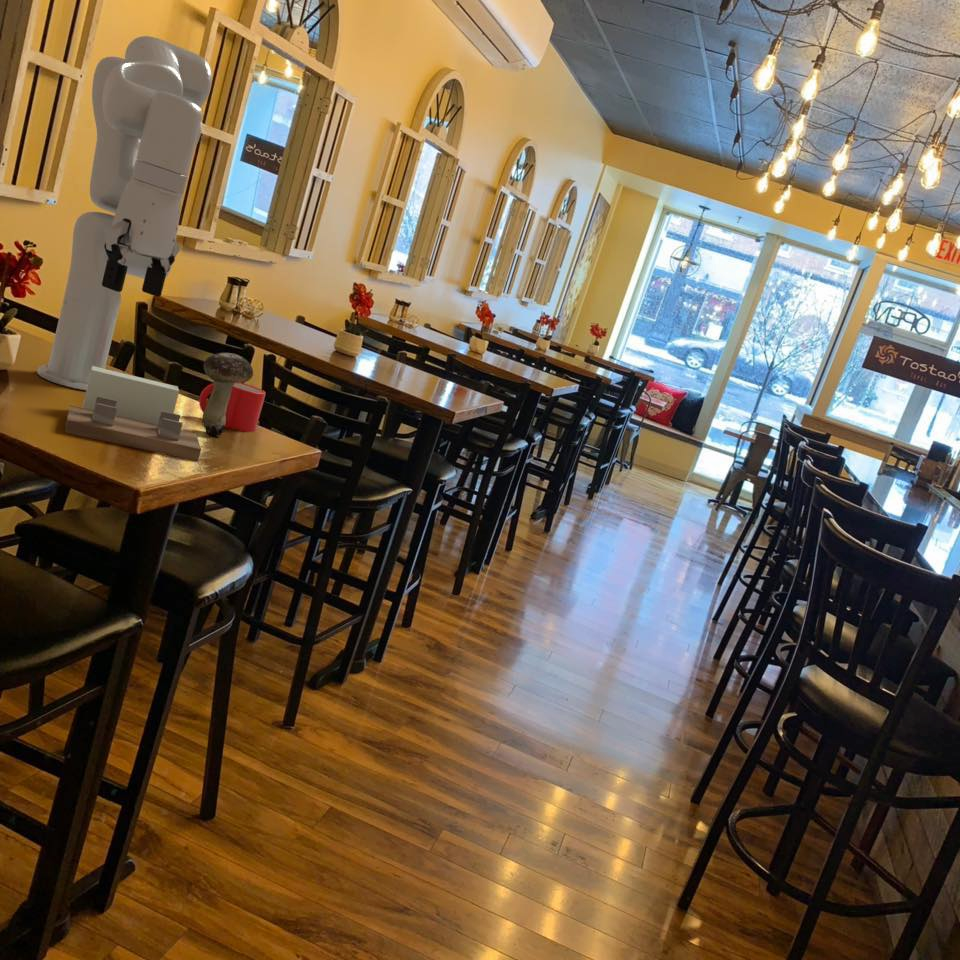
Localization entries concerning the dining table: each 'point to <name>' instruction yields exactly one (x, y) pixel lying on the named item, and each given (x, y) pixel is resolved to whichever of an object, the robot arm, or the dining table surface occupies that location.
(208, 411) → the mushroom
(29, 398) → the dining table surface
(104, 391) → the pale grey rectangular block
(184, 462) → the dining table surface
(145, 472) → the dining table surface
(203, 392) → the mug
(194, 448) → the board
